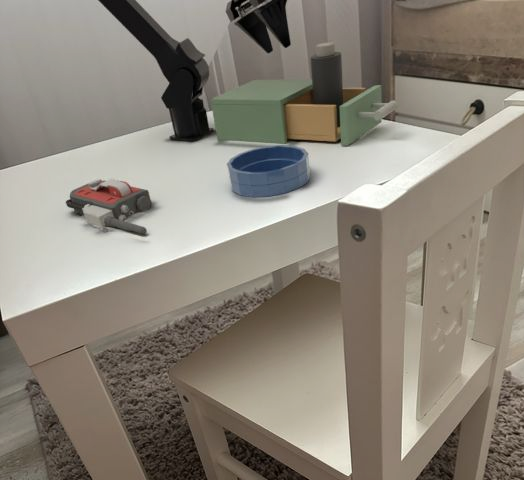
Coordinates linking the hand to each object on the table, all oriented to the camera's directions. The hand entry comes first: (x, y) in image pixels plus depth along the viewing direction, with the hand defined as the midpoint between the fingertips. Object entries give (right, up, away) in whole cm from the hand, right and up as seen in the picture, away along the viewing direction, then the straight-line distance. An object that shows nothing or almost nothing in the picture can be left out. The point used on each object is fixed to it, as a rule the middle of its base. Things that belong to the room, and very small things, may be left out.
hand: (278, 49), depth 91 cm
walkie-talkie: (-23, -34, -17) cm, 44 cm away
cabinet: (-1, -12, +5) cm, 13 cm away
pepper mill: (+8, -14, -2) cm, 16 cm away
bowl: (-2, -29, -16) cm, 33 cm away
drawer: (+10, -15, -3) cm, 19 cm away
